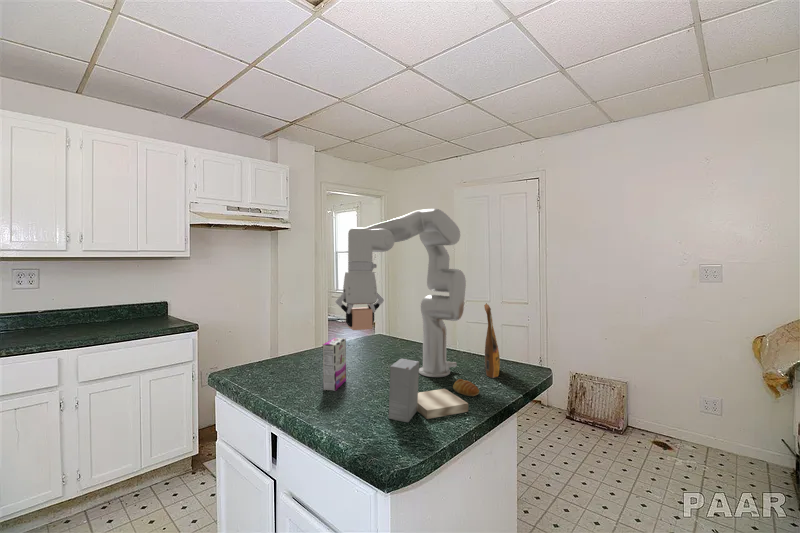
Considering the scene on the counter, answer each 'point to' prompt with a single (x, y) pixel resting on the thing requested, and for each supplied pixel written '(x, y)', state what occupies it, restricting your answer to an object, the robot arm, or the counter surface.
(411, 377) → the skincare box
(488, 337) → the pancake mix bag
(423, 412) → the birch board
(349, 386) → the counter surface
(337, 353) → the candy bar box
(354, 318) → the terracotta cube
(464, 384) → the pastry
